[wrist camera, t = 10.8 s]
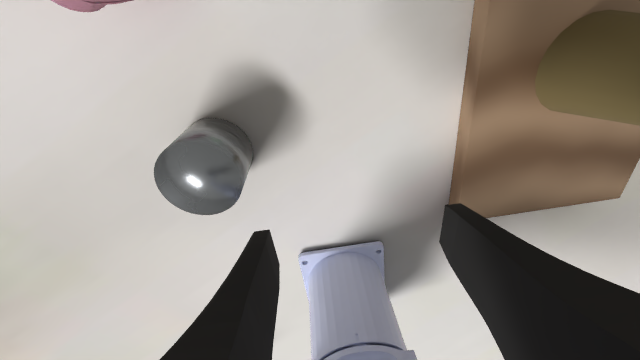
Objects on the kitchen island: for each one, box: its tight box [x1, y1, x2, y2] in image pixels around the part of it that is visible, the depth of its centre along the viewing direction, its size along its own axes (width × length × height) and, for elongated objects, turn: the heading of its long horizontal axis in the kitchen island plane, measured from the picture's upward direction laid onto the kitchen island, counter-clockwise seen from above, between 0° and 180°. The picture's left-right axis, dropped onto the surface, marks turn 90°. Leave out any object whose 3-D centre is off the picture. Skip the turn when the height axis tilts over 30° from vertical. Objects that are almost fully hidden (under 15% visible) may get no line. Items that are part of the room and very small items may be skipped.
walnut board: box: [449, 0, 640, 218], centre depth 18 cm, size 22×14×2 cm, turn 8°
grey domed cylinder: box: [154, 118, 253, 215], centre depth 18 cm, size 5×5×4 cm
